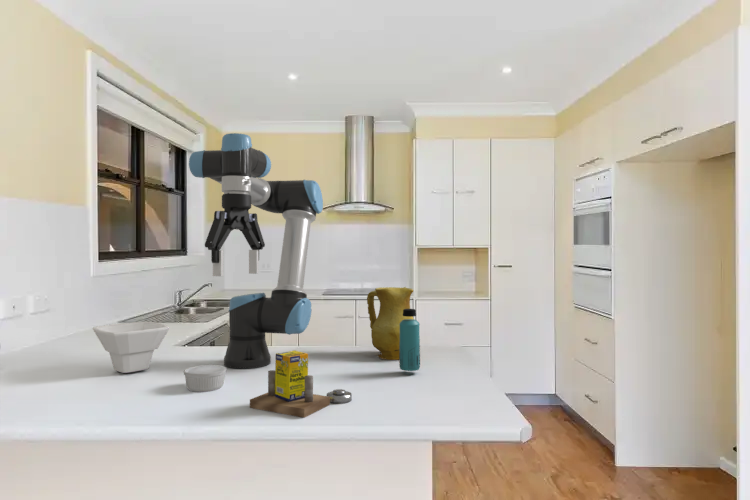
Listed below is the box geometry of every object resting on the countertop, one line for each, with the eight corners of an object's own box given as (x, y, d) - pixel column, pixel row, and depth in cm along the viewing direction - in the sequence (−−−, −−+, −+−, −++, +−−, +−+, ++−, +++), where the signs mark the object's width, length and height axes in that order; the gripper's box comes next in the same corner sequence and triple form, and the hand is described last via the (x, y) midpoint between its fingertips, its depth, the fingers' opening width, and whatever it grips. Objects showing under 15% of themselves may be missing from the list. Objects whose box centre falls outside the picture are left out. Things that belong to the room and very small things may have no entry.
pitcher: (385, 362, 175) (386, 287, 176) (361, 355, 192) (361, 286, 193) (429, 359, 183) (429, 287, 184) (401, 352, 200) (402, 286, 201)
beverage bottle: (418, 376, 159) (419, 310, 158) (397, 375, 160) (397, 309, 160) (421, 371, 165) (421, 307, 165) (400, 370, 166) (400, 307, 166)
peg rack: (249, 407, 128) (249, 374, 128) (277, 396, 138) (277, 365, 138) (304, 417, 121) (304, 382, 121) (329, 404, 130) (329, 372, 130)
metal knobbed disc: (321, 401, 133) (321, 392, 133) (334, 395, 139) (334, 386, 139) (343, 405, 130) (343, 395, 130) (356, 398, 136) (356, 389, 136)
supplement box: (288, 402, 126) (288, 356, 125) (274, 397, 130) (274, 353, 130) (308, 397, 130) (308, 353, 130) (294, 392, 134) (294, 349, 134)
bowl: (175, 371, 165) (175, 326, 165) (110, 382, 151) (110, 334, 150) (149, 361, 178) (149, 320, 177) (87, 371, 163) (86, 327, 163)
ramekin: (182, 384, 149) (182, 366, 149) (223, 381, 153) (223, 362, 153) (185, 395, 139) (185, 375, 139) (228, 390, 143) (228, 371, 143)
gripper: (212, 188, 125) (212, 277, 125) (277, 197, 147) (277, 273, 147) (189, 190, 128) (189, 276, 129) (256, 198, 151) (256, 272, 151)
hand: (236, 275), depth 138 cm, fingers open, 13 cm apart
